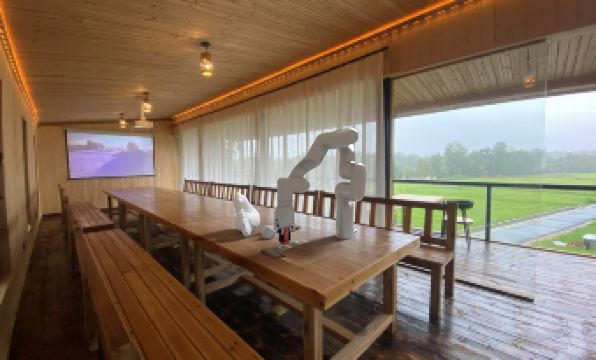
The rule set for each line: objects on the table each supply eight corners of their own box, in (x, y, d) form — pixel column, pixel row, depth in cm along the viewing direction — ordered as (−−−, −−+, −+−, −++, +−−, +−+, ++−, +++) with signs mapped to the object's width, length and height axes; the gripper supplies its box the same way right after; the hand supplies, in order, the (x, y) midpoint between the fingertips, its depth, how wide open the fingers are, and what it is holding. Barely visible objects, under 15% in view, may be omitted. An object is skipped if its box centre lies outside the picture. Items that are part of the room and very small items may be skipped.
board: (298, 239, 145) (298, 237, 145) (315, 244, 137) (315, 242, 137) (261, 252, 127) (261, 249, 127) (278, 258, 118) (278, 255, 118)
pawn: (284, 241, 133) (284, 222, 132) (291, 243, 130) (291, 223, 129) (277, 243, 129) (277, 223, 129) (284, 245, 126) (284, 225, 125)
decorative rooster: (241, 215, 174) (225, 189, 158) (264, 212, 172) (250, 184, 156) (234, 248, 156) (215, 222, 140) (259, 245, 153) (243, 217, 137)
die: (270, 244, 140) (279, 228, 142) (256, 235, 141) (266, 220, 143) (271, 245, 148) (280, 230, 150) (258, 236, 149) (267, 222, 151)
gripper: (291, 200, 136) (291, 235, 138) (266, 204, 124) (266, 243, 126) (302, 202, 131) (302, 238, 133) (277, 206, 119) (277, 246, 121)
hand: (284, 240), depth 129 cm, fingers closed on pawn, 3 cm apart
